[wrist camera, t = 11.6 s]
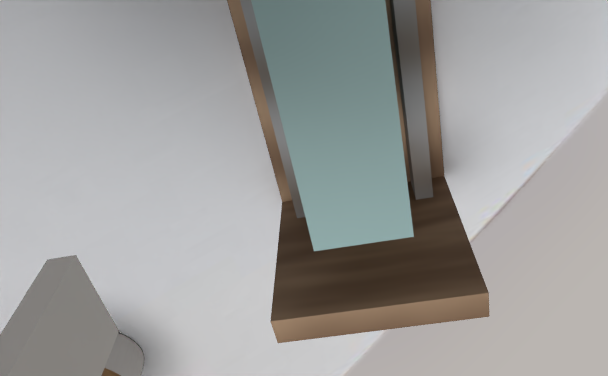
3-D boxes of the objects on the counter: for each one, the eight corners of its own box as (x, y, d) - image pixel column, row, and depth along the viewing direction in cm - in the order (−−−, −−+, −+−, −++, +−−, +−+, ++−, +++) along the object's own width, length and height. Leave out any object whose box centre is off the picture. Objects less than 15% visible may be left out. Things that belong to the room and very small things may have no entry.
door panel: (274, -57, 26) (250, 0, 16) (358, -75, 25) (382, -28, 16) (314, 129, 31) (313, 251, 22) (384, 116, 30) (414, 236, 21)
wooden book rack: (185, -188, 25) (92, -209, 15) (403, -244, 23) (469, -311, 13) (289, 203, 36) (277, 343, 26) (439, 179, 35) (489, 316, 25)
